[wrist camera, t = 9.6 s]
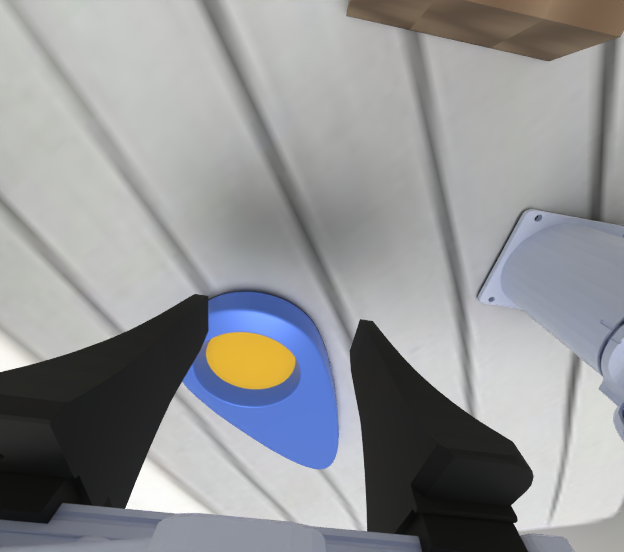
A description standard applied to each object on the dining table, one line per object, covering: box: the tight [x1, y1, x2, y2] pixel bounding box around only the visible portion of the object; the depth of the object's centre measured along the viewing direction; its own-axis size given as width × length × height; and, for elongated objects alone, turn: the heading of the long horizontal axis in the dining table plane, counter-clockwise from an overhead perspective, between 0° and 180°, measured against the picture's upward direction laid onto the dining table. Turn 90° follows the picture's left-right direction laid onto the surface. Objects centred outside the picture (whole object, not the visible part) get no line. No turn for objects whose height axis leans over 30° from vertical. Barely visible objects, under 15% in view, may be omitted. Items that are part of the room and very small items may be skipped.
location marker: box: [182, 292, 339, 469], centre depth 27 cm, size 13×3×25 cm
